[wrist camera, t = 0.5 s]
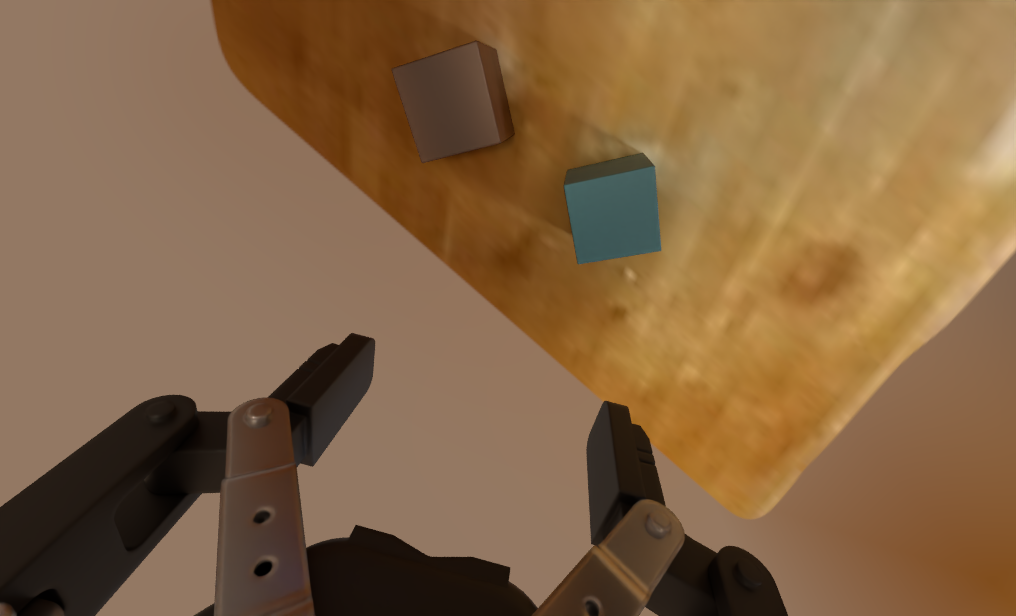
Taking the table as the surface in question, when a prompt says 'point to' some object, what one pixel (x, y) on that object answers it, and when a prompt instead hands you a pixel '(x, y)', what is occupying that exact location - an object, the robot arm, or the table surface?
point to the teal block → (613, 209)
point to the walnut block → (455, 101)
